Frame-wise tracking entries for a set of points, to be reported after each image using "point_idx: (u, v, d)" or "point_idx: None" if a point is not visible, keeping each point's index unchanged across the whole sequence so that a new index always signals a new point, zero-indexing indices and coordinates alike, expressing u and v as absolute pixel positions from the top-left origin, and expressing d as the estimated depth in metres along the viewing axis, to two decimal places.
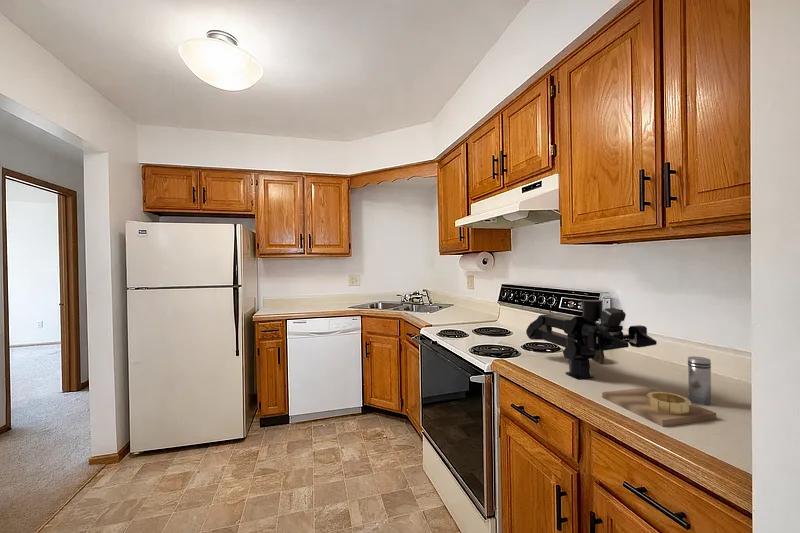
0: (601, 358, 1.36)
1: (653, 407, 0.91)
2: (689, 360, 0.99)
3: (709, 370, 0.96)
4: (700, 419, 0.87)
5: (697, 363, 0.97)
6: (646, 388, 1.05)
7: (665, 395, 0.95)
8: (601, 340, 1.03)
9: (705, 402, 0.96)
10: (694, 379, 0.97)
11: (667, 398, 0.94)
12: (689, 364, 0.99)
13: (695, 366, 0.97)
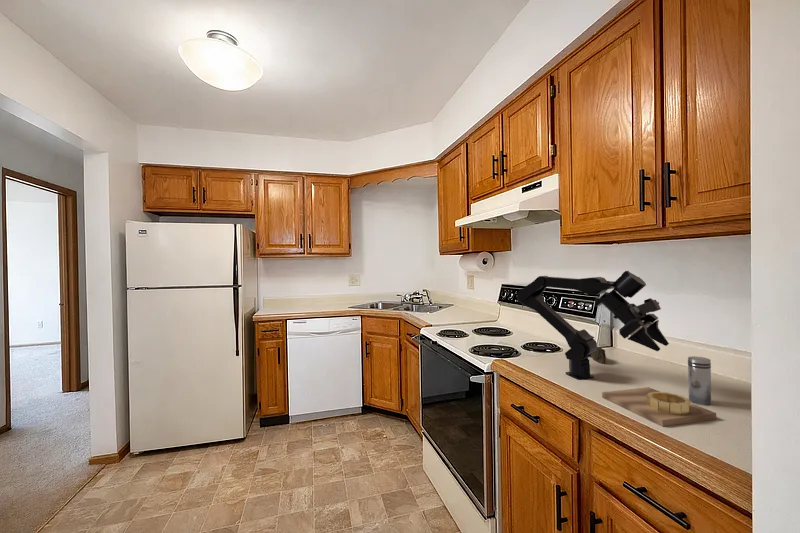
0: (603, 358, 1.36)
1: (653, 407, 0.91)
2: (689, 360, 0.99)
3: (709, 370, 0.96)
4: (700, 419, 0.87)
5: (697, 363, 0.97)
6: (646, 388, 1.05)
7: (665, 395, 0.95)
8: (637, 333, 1.03)
9: (705, 402, 0.96)
10: (694, 379, 0.97)
11: (667, 398, 0.94)
12: (689, 364, 0.99)
13: (695, 366, 0.97)
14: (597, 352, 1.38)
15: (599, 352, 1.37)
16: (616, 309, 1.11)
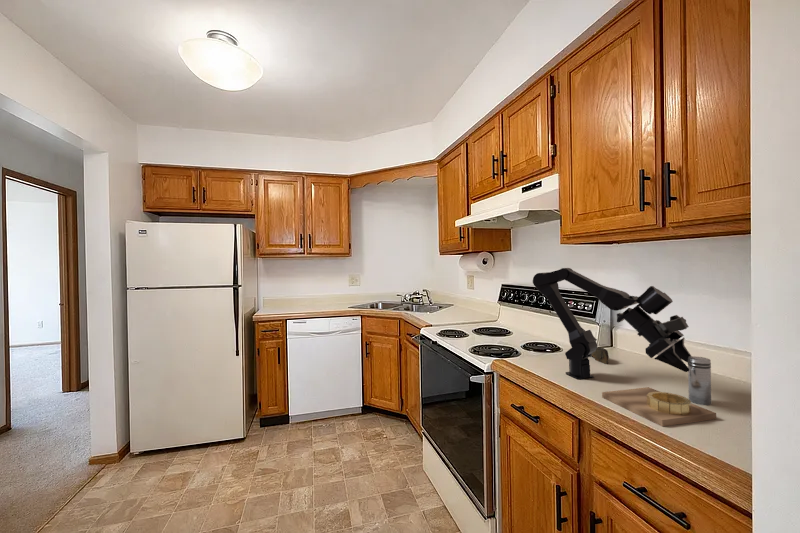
0: (606, 358, 1.36)
1: (653, 407, 0.91)
2: (689, 360, 0.99)
3: (709, 370, 0.96)
4: (700, 419, 0.87)
5: (697, 363, 0.97)
6: (646, 388, 1.05)
7: (665, 395, 0.95)
8: (664, 353, 0.98)
9: (705, 402, 0.96)
10: (694, 379, 0.97)
11: (667, 398, 0.94)
12: (689, 364, 0.99)
13: (695, 366, 0.97)
14: (600, 352, 1.38)
15: (602, 352, 1.37)
16: (640, 326, 1.06)
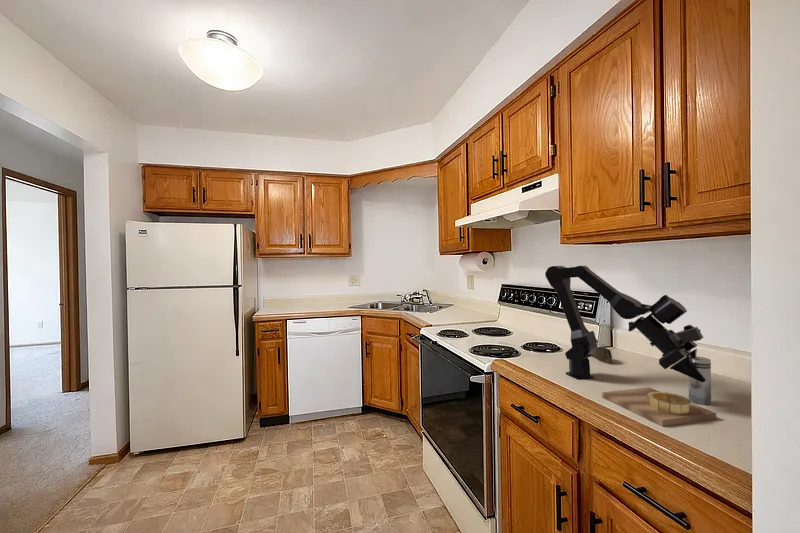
0: (609, 358, 1.35)
1: (653, 407, 0.91)
2: None
3: (709, 370, 0.96)
4: (700, 419, 0.87)
5: (697, 363, 0.97)
6: (646, 388, 1.05)
7: (665, 395, 0.95)
8: (680, 363, 0.97)
9: (705, 402, 0.96)
10: (694, 379, 0.97)
11: (667, 398, 0.94)
12: None
13: (695, 366, 0.97)
14: (603, 352, 1.38)
15: (605, 352, 1.37)
16: (653, 336, 1.04)
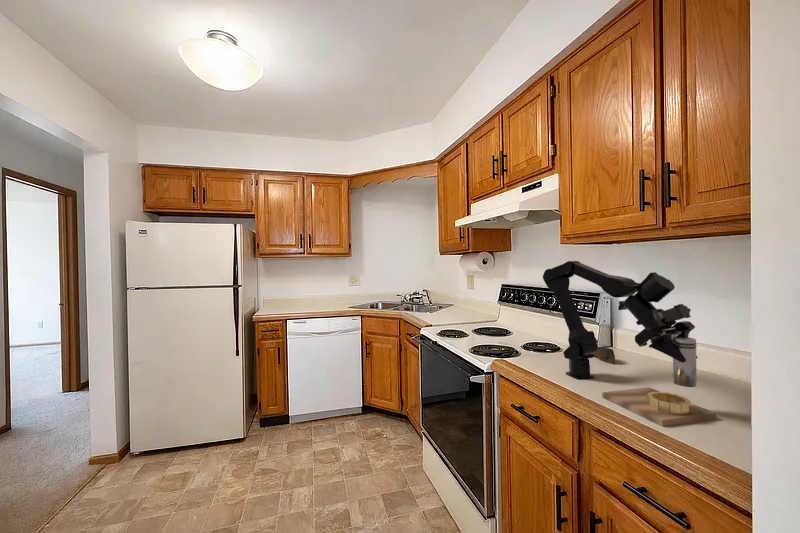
0: (612, 358, 1.35)
1: (653, 407, 0.91)
2: (673, 340, 0.94)
3: (692, 351, 0.91)
4: (700, 419, 0.87)
5: (678, 342, 0.92)
6: (646, 388, 1.05)
7: (665, 395, 0.95)
8: (659, 341, 0.94)
9: (687, 384, 0.91)
10: (676, 360, 0.93)
11: (667, 398, 0.94)
12: None
13: (677, 345, 0.93)
14: (605, 352, 1.38)
15: (608, 352, 1.37)
16: (638, 314, 1.01)
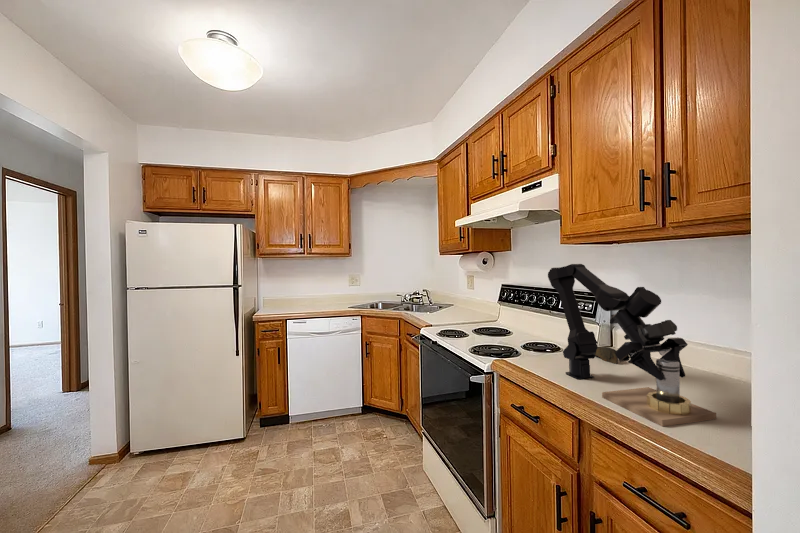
0: (615, 358, 1.35)
1: (653, 407, 0.91)
2: (656, 361, 0.93)
3: (674, 374, 0.89)
4: (700, 419, 0.87)
5: (660, 365, 0.91)
6: (646, 388, 1.05)
7: None
8: (637, 357, 0.93)
9: None
10: (658, 382, 0.92)
11: None
12: None
13: (658, 368, 0.91)
14: (608, 352, 1.38)
15: (611, 352, 1.37)
16: (625, 329, 1.00)
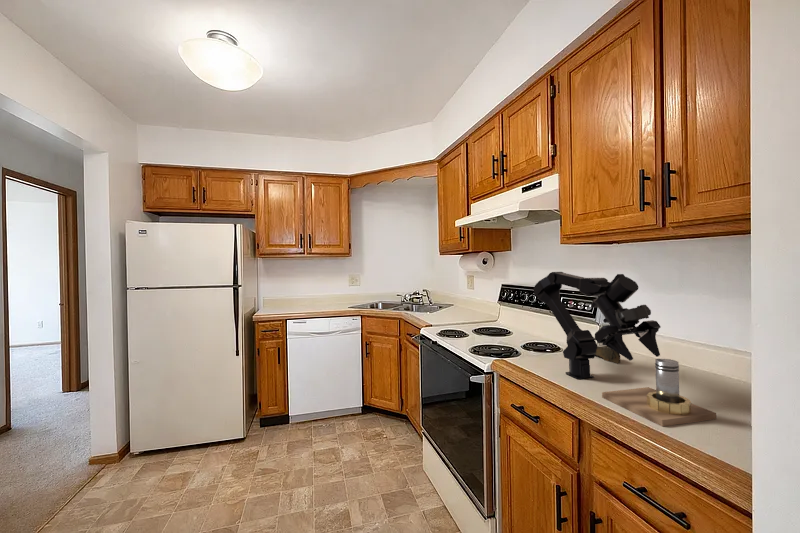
0: (618, 358, 1.35)
1: (653, 407, 0.91)
2: (655, 361, 0.93)
3: (673, 374, 0.89)
4: (700, 419, 0.87)
5: (659, 365, 0.91)
6: (646, 388, 1.05)
7: None
8: (610, 340, 1.01)
9: None
10: (657, 382, 0.92)
11: None
12: (655, 366, 0.93)
13: (658, 368, 0.91)
14: (610, 352, 1.38)
15: (613, 352, 1.37)
16: (605, 313, 1.08)
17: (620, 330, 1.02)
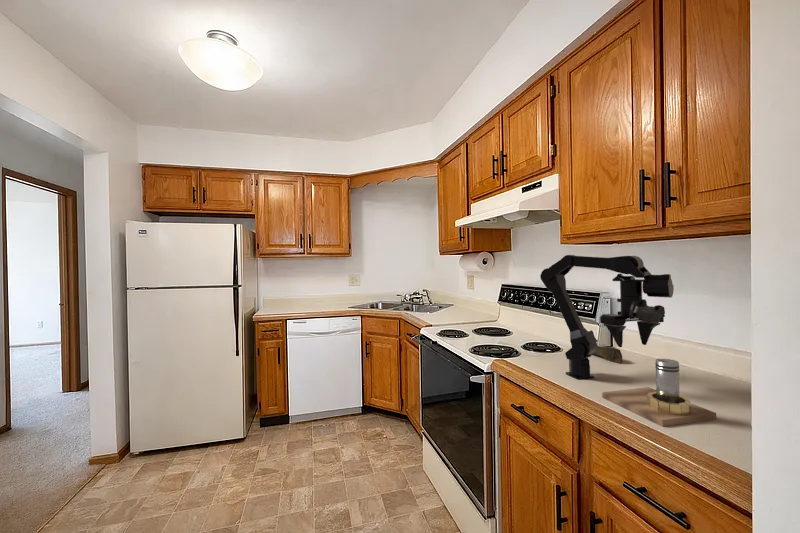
0: (620, 358, 1.36)
1: (653, 407, 0.91)
2: None
3: (673, 374, 0.89)
4: (700, 419, 0.87)
5: (659, 365, 0.91)
6: (646, 388, 1.05)
7: None
8: (612, 326, 1.09)
9: None
10: (657, 382, 0.92)
11: None
12: (655, 366, 0.93)
13: (658, 368, 0.91)
14: (612, 352, 1.38)
15: (615, 352, 1.37)
16: (622, 296, 1.10)
17: (626, 319, 1.09)
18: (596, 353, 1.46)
